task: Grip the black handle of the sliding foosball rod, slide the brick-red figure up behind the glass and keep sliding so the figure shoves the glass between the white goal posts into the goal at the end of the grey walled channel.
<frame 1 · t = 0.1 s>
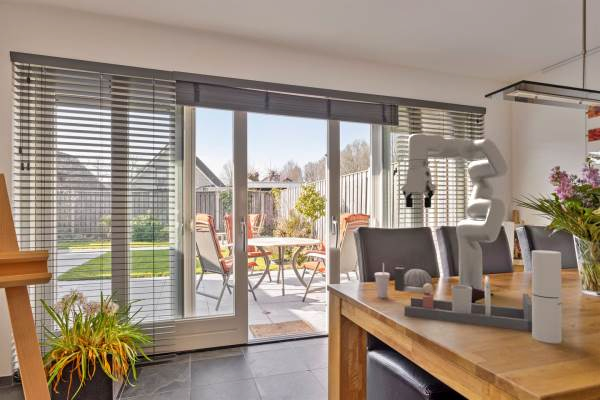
hand: (418, 207, 152), 37 cm above the table, tool pointing down, fingers open, 9 cm apart
drinking glass: (461, 316, 130), resting in grey walled channel
foosball rod: (414, 289, 137), point 8 cm above the table, slide at 0.0 cm
smoothie: (382, 297, 157), on the table
grey walled channel: (468, 316, 129), on the table
sea urchin shell: (417, 286, 178), on the table
cylindrical container: (546, 339, 108), on the table
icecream: (471, 303, 147), on the table
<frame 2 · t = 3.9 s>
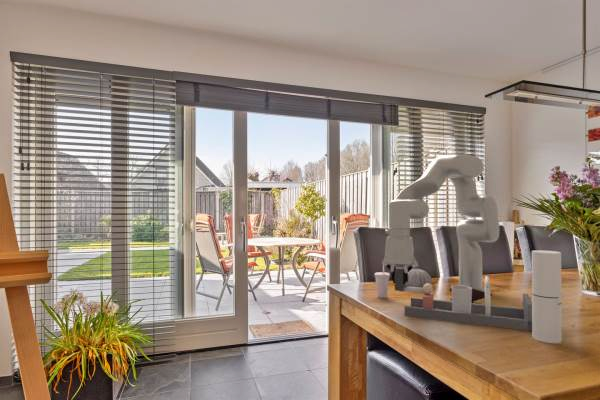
hand: (399, 282, 139), 10 cm above the table, tool pointing down, fingers closed on foosball rod, 3 cm apart
foosball rod: (414, 289, 137), point 8 cm above the table, slide at 0.0 cm, touching gripper
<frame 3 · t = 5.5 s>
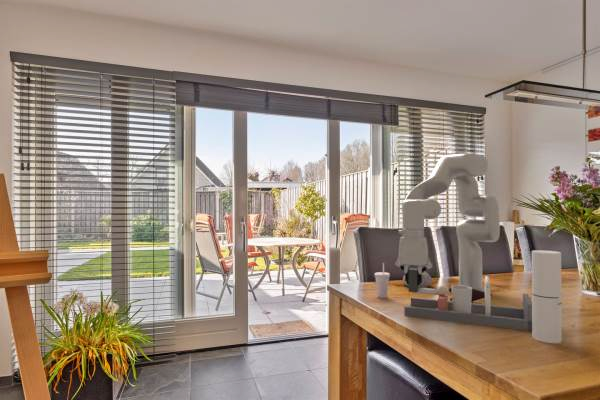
hand: (413, 283, 137), 10 cm above the table, tool pointing down, fingers closed on foosball rod, 3 cm apart
foosball rod: (428, 290, 135), point 8 cm above the table, slide at 4.9 cm, touching gripper
everything else where it was.
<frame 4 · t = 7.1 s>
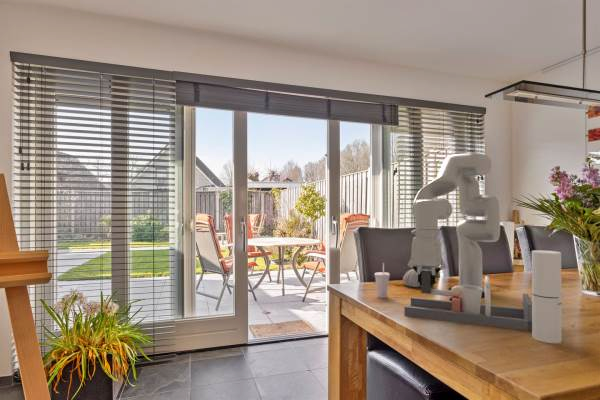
hand: (426, 284, 135), 10 cm above the table, tool pointing down, fingers closed on foosball rod, 3 cm apart
drinking glass: (469, 317, 129), resting in grey walled channel, touching foosball rod
foosball rod: (441, 291, 133), point 8 cm above the table, slide at 9.5 cm, touching drinking glass, gripper
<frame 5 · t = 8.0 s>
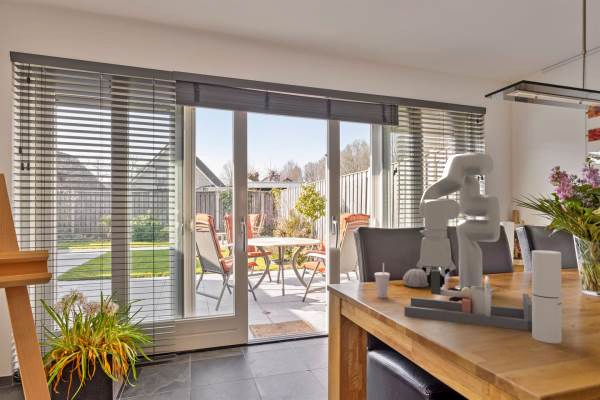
hand: (435, 285, 134), 10 cm above the table, tool pointing down, fingers closed on foosball rod, 3 cm apart
drinking glass: (480, 318, 127), resting in grey walled channel, touching foosball rod
foosball rod: (451, 292, 131), point 8 cm above the table, slide at 12.6 cm, touching drinking glass, gripper
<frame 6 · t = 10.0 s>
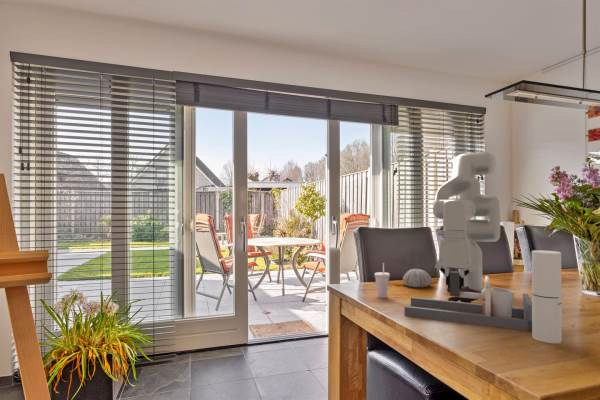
hand: (454, 287, 131), 10 cm above the table, tool pointing down, fingers closed on foosball rod, 3 cm apart
drinking glass: (500, 320, 125), resting in grey walled channel, touching foosball rod
foosball rod: (471, 294, 129), point 8 cm above the table, slide at 18.9 cm, touching drinking glass, gripper
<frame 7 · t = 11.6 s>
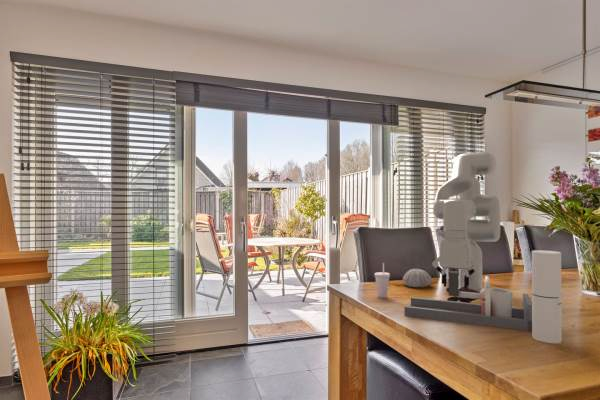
hand: (455, 286, 131), 10 cm above the table, tool pointing down, fingers open, 6 cm apart
foosball rod: (469, 294, 129), point 8 cm above the table, slide at 18.5 cm, touching drinking glass
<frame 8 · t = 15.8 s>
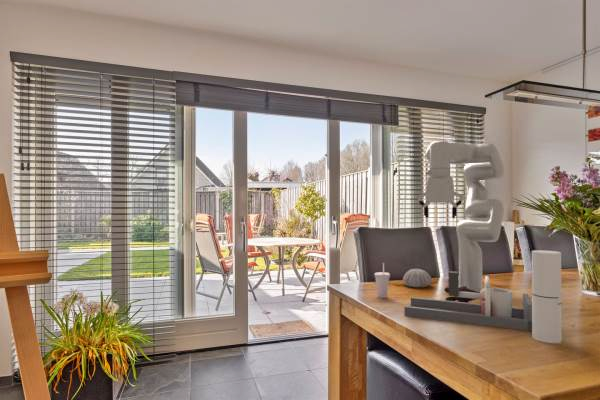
hand: (440, 217, 145), 33 cm above the table, tool pointing down, fingers open, 9 cm apart
at the end: drinking glass inside the target area (2.2 cm from its centre), resting in grey walled channel; drinking glass tilted 1°; foosball rod slide at 18.5 cm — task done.
